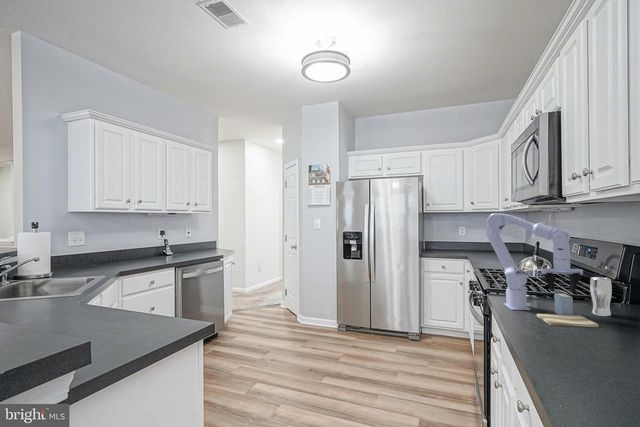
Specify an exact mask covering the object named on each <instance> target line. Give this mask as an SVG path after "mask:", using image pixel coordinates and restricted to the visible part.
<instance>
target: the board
mask: <svg viewBox="0 0 640 427" xmlns="http://www.w3.org/2000/svg"><path fill="white" fill-rule="evenodd" d="M536 317H538V319H541V320H542V321H544V322H546V324H548V325H549V326H557V327H558V326H560V327H582V328H584V327H586V328H588V327H589V328H599V327H600V326H599V323H597V322H594V321H592V320H591V319H588V318H586V317H585V316H582V315H580V314H573V315H564V314H557V313H536Z"/></svg>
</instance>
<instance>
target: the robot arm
mask: <svg viewBox="0 0 640 427" xmlns="http://www.w3.org/2000/svg"><path fill="white" fill-rule="evenodd" d="M485 222H486V232H485V234H486V236H487V239H488V241H489V243H490V245H491V247H492V248H493V251H494V252H495V254H496V256H497V258H498V260H499V262H500V263H501V265H502V267H503V269H504V276H505V277H506V280H505V281H506V284H507V288H506V290H505V302H504V303H503V305H504V306H506V307H507V308H508V309H510V310H513V311H514V310H516V311H517V310H518V311H519V310H520V311H531V308H530V307H528V304H527V303H528V301H527V299H528V298H527V287H526V284H527V282H528V278H527V275H526V274H525V273H523V271H522V270H521V269H520V268H519V267H518V266H517V265H516V263H515V261H514V259H513V257H512V256H511V254H510V252H509V249H508V248H507V246H506V245H505V242H504V240H503V239H502V236H501V234H500V233H501V232H502V229H503V228H505V226H507V225H514V226H516V227H521V228H523V229H525V230H526V229H527V230H528V231H529V230H530V231H531V232H532V234H533V235H534V236H536V237H540V238H543V239H544V240H548V241H552V243H553V247H552V257H553V258H552V259H553V268H541V274H542V275H543V276H544V278H545V280H546V282H547V284H548V286H549V291H550V292H555V281H556V280H555V279H556V276H555V275H568V278H569V289H570V292H572V293H575V292H576V289H577V286H578V283H579V282H580V281H581V279H582V276H583V275H584V269H580V268H571V250H570V242H569V241H570V240H571V234H570V233H569V232H568V231H567V230H565V229H560V227H557V226H555V227H554V226H551V225H548V224H547V222H545V221H544V222H537V223H533V222H531V221H528V220H525V219H523V218H520V217H518V216H516V215H511V214H506V213H503V212H494V213H491V214H490V215H488V218H487V219H486V221H485Z"/></svg>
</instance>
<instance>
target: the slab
mask: <svg viewBox="0 0 640 427" xmlns="http://www.w3.org/2000/svg"><path fill="white" fill-rule="evenodd" d="M573 300H574V299H573V296H570V295H568V294H566V293H554V313H555V314H564V315H574V303H573V302H574V301H573Z"/></svg>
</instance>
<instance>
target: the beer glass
mask: <svg viewBox="0 0 640 427" xmlns="http://www.w3.org/2000/svg"><path fill="white" fill-rule="evenodd" d="M589 281H590V283H589V291H590V296H591V300H592V311H591V314H593V315H595V316H600V317H611V316H612V314H611V307H610V304H611V299H612V293H613V292H612V291H613V289H612V288H613V286H612V279H611V278H609V277H602V276H591V277H590V280H589Z"/></svg>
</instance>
